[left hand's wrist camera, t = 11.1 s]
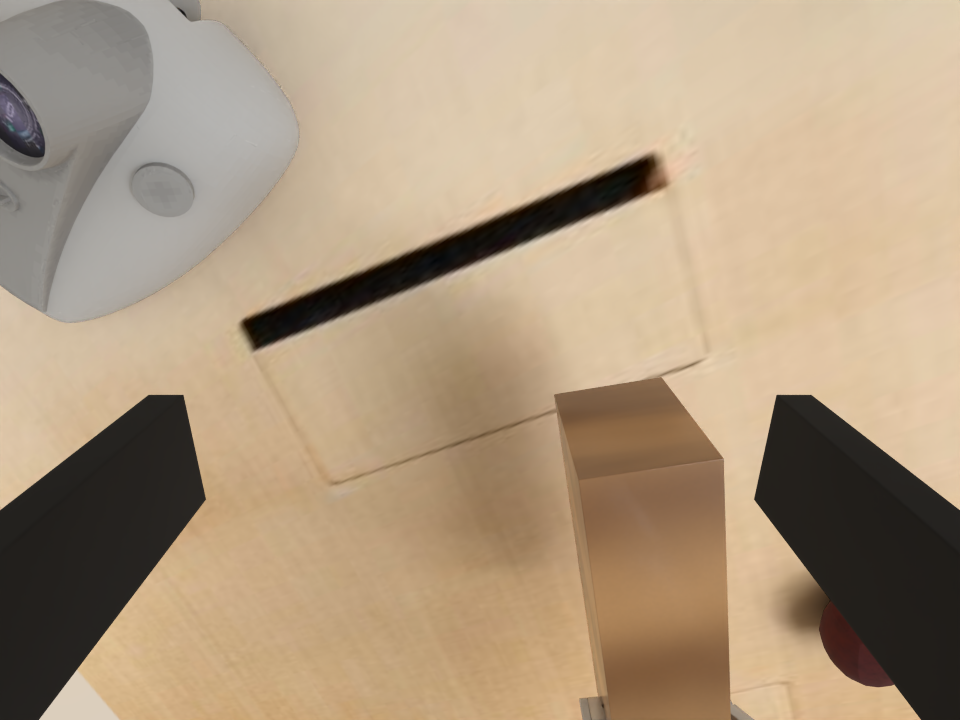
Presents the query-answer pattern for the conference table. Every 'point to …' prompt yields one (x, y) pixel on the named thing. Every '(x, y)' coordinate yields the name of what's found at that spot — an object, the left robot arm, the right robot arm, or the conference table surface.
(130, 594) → the left robot arm
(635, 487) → the bar
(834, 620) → the maroon ball
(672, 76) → the conference table surface
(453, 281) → the conference table surface
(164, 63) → the projector
